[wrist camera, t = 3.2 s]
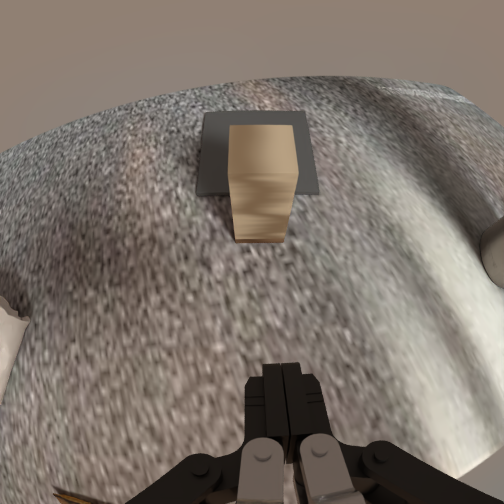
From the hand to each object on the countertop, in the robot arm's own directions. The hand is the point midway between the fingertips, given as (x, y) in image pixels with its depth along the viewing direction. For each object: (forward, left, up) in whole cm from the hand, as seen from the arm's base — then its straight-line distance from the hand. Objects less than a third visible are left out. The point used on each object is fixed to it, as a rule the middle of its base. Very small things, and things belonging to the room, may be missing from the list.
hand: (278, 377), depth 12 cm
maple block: (0, -16, -16) cm, 23 cm away
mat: (0, -26, -16) cm, 31 cm away
